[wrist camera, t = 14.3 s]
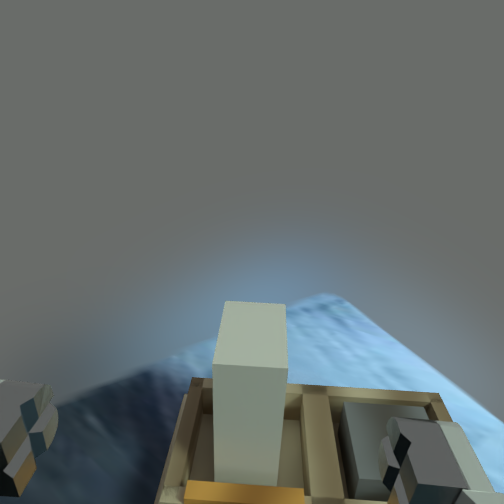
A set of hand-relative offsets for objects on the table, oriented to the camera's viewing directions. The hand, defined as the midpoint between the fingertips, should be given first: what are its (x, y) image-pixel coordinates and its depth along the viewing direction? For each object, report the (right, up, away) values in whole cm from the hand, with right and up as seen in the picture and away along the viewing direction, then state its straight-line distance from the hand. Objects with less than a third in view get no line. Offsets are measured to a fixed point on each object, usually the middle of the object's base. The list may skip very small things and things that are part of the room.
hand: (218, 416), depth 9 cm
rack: (+5, -13, +19) cm, 24 cm away
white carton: (0, -12, +19) cm, 22 cm away
